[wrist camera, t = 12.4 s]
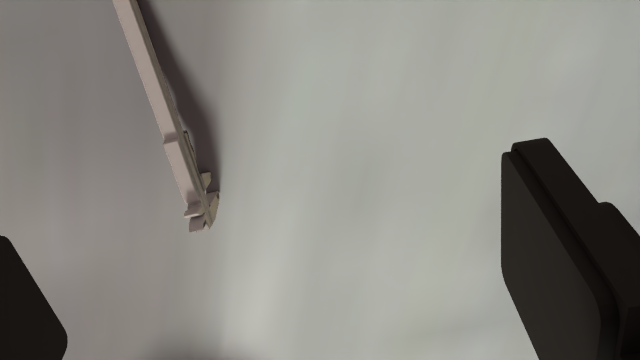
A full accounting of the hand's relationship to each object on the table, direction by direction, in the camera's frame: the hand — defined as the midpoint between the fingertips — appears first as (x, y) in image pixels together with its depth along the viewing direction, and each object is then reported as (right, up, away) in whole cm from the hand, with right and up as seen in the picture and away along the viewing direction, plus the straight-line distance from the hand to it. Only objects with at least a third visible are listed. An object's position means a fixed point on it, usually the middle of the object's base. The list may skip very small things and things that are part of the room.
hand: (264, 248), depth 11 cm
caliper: (-10, +8, +28) cm, 31 cm away
